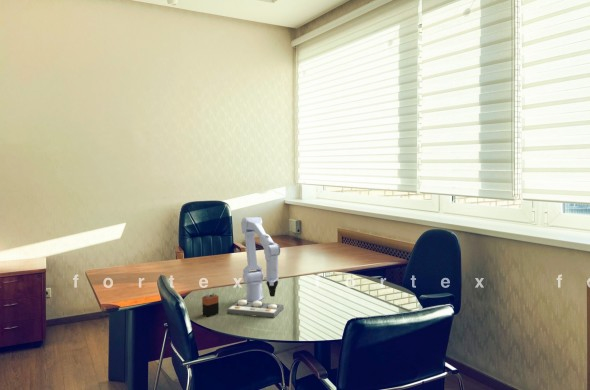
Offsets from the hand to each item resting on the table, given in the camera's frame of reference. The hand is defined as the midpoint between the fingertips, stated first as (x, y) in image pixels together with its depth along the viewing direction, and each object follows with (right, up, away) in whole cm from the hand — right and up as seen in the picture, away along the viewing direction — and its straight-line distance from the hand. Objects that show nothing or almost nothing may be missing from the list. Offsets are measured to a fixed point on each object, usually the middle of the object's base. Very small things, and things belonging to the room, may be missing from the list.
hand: (272, 296), depth 234 cm
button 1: (-15, -6, +5) cm, 17 cm away
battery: (-30, -8, -4) cm, 31 cm away
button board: (-8, -8, +1) cm, 11 cm away
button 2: (-8, -6, +3) cm, 10 cm away
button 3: (0, -7, 0) cm, 7 cm away
